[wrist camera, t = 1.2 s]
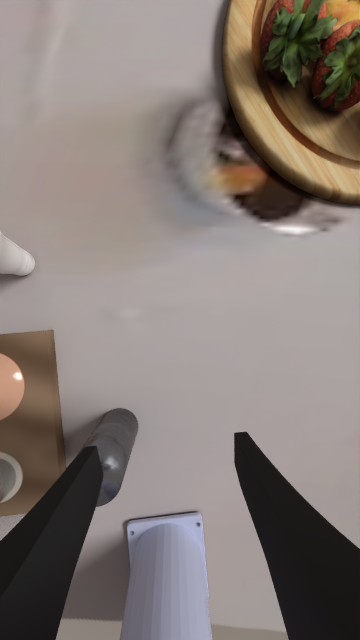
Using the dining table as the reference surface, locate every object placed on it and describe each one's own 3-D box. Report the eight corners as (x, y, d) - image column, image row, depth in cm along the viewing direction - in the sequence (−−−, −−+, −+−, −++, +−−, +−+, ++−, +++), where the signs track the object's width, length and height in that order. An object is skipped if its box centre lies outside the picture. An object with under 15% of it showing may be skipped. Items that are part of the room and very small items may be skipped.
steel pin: (139, 443, 21) (124, 503, 14) (102, 447, 21) (68, 510, 14) (136, 406, 21) (119, 449, 14) (99, 410, 21) (63, 455, 14)
